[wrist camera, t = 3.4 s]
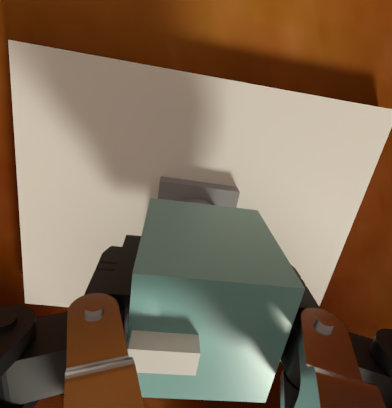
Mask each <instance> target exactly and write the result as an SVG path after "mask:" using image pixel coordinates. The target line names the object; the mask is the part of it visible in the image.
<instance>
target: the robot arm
mask: <svg viewBox="0 0 392 408" xmlns="http://www.w3.org/2000/svg"><path fill="white" fill-rule="evenodd" d="M140 239H141V236H136V235H126V237H125V240H124V243H123V246H122V247H118V246H110V247H109V248H108V249H107V250H105V251H104V252H103V253H102V255H101V257H100V260H99V263H98V264H97V267H96V270H95V271H94V273H93V276H92V278H91V280H90V283H89V285H88V287H87V289H86V292H85V294H84V296H81V297H79V298H77V299H76V300H75V301H73V302H72V303H71V305H70V306H69V308H68V311H65V312H63V313H60V314H55V315H50V316H44V317H38V318H35V314H34V312H33V311H32V310H31V309H30V308H28V307H26V306H22V305H8V306H3V307H0V408H33V407H34V406H35V405H36V403H37V402H38V400H40V399H43V398H47V397H51V396H54V395H58V394H62V393H64V408H144V404H143V400H142V395H141V390H140V385H139V381H138V376H137V371H136V366H135V362H134V359H133V357H129V356H128V351H127V334H128V322H129V309H130V297H131V284H132V273H133V268H134V264H135V260H136V256H137V252H138V248H139V243H140ZM291 266H292V265H291ZM292 268H293V269H294V271H295V272H296V274H297V276H298V277H299V279H300V281H301V282H302V284H303V286H304V287H305V291H304V294H303V297H302V300H301V302H300V305H299V308H298V311H297V314H296V317H295V320H294V322H293V325H292V328H291V331H290V334H289V337H288V340H287V343H286V345H285V348H284V351H283V354H282V357H281V360H280V362H281V363H282V365H283V369H282V372H281V375H280V408H392V330H391V329H381V330H379V331H377V333H376V335H375V337H374V339H370V338H366V337H363V336H360V335H357V334H353V333H350V332H348V330H347V327H346V326H345V324H344V323H343V322H342V321H341V320H340V319H339V318H338V317H337V316H335V315H334V314H332V313H330V312H328V311H326V310H323V309H320V307H319V305H318V304H317V302H316V301H315V299H314V297H313V296H312V294H311V293H310V291H309V289H308V288H307V286H305V283H304V281H303V280H302V279H301V276H300V275H299V273H298V272H297V270H296V269H295V268H294V267H293V266H292Z"/></svg>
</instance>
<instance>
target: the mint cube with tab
mask: <svg viewBox="0 0 392 408" xmlns="http://www.w3.org/2000/svg"><path fill="white" fill-rule="evenodd" d="M304 291H305V287H304V286H303V284H302V282H301V281H300V279H299V277H298V276H297V274H296V272H295V271H294V269H293V268H292V266H291V264H290V263H289V261H288V259H287V258H286V256H285V254H284V253H283V251H282V249H281V248H280V246H279V245H278V243H277V241H276V240H275V238H274V236H273V235H272V233H271V231H270V230H269V228H268V227H267V225H266V223H265V222H264V220H263V218H262V217H261V215H260V213H259V212H258V210H252V209H243V208H234V207H226V206H217V205H208V204H200V203H191V202H183V201H174V200H165V199H157V198H150V201H149V206H148V210H147V214H146V218H145V222H144V227H143V231H142V235H141V239H140V243H139V248H138V252H137V256H136V260H135V264H134V268H133V273H132V284H131V297H130V309H129V322H128V334H127V351H128V356H129V357H133V359H134V362H135V366H136V371H137V376H138V381H139V385H140V390H141V395H142V397H148V398H170V399H193V400H215V401H238V402H260V403H266V400H267V397H268V394H269V391H270V388H271V385H272V383H273V380H274V377H275V374H276V371H277V368H278V365H279V363H280V360H281V357H282V354H283V351H284V348H285V345H286V343H287V340H288V337H289V334H290V331H291V328H292V325H293V322H294V320H295V317H296V314H297V311H298V308H299V305H300V302H301V300H302V297H303V294H304Z"/></svg>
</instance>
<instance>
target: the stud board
mask: <svg viewBox="0 0 392 408" xmlns="http://www.w3.org/2000/svg"><path fill="white" fill-rule="evenodd" d="M8 47H9V62H10V78H11V93H12V109H13V125H14V140H15V156H16V171H17V187H18V202H19V218H20V233H21V249H22V265H23V280H24V296H25V304H37V305H48V306H60V307H69V306H70V305H71V303H72V302H73V301H75V300H76V299H77V298H79V297H81V296H84V294H85V292H86V289H87V287H88V285H89V283H90V280H91V278H92V276H93V273H94V271H95V270H96V267H97V264H98V263H99V260H100V257H101V255H102V253H103V252H104V251H105V250H107V249H108V248H109V247H110V246H118V247H122V246H123V243H124V240H125V237H126V235H136V236H141V235H142V231H143V227H144V222H145V218H146V214H147V210H148V206H149V201H150V198H157V199H165V200H174V201H183V202H191V203H200V204H208V205H217V206H226V207H234V208H243V209H252V210H258V212H259V213H260V215H261V217H262V218H263V220H264V222H265V223H266V225H267V227H268V228H269V230H270V231H271V233H272V235H273V236H274V238H275V240H276V241H277V243H278V245H279V246H280V248H281V249H282V251H283V253H284V254H285V256H286V258H287V259H288V261H289V263H290V264H291V265H292V266H293V267H294V268H295V269H296V270H297V272H298V273H299V275H300V276H301V279H302V280H303V281H304V283H305V286H307V288H308V289H309V291H310V293H311V294H312V296H313V297H314V299H315V301H316V302H317V304H318V305H319V306H320V304H321V301H322V299H323V296H324V294H325V291H326V289H327V286H328V284H329V281H330V279H331V276H332V274H333V271H334V269H335V266H336V264H337V261H338V259H339V256H340V254H341V251H342V249H343V246H344V244H345V242H346V239H347V237H348V234H349V232H350V229H351V227H352V224H353V222H354V219H355V217H356V214H357V212H358V209H359V207H360V204H361V202H362V199H363V197H364V194H365V192H366V189H367V187H368V184H369V182H370V179H371V177H372V175H373V172H374V170H375V167H376V165H377V162H378V160H379V157H380V155H381V152H382V150H383V147H384V145H385V142H386V140H387V137H388V135H389V132H390V130H391V127H392V109H387V108H382V107H376V106H371V105H365V104H360V103H354V102H349V101H343V100H338V99H332V98H327V97H321V96H316V95H310V94H305V93H299V92H294V91H288V90H283V89H277V88H272V87H266V86H261V85H255V84H250V83H244V82H239V81H233V80H228V79H222V78H217V77H211V76H206V75H200V74H195V73H189V72H184V71H178V70H173V69H167V68H162V67H156V66H151V65H145V64H140V63H134V62H129V61H123V60H118V59H112V58H107V57H101V56H96V55H90V54H85V53H79V52H74V51H68V50H63V49H57V48H52V47H46V46H41V45H35V44H30V43H24V42H19V41H13V40H8Z"/></svg>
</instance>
